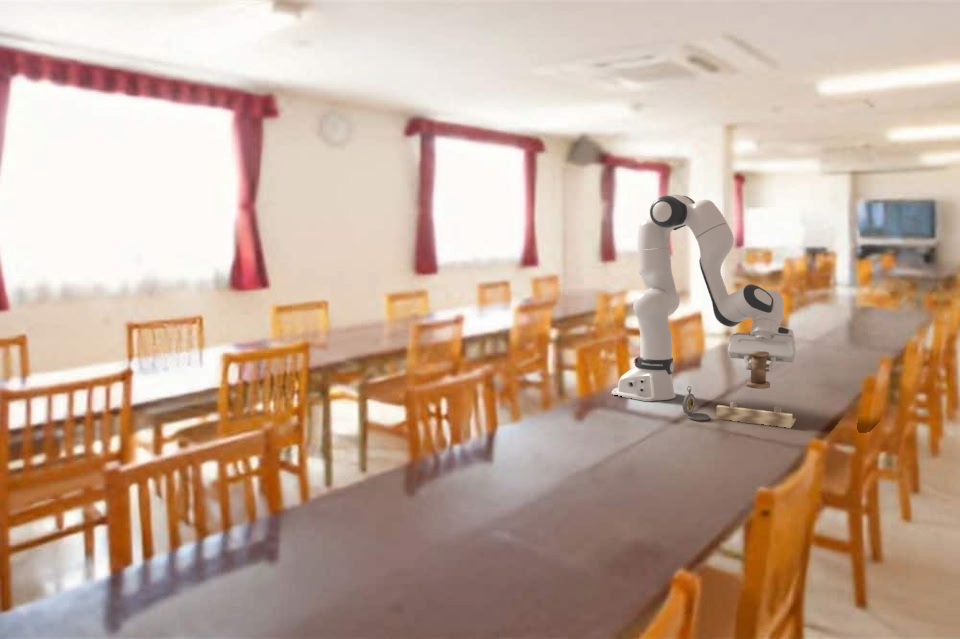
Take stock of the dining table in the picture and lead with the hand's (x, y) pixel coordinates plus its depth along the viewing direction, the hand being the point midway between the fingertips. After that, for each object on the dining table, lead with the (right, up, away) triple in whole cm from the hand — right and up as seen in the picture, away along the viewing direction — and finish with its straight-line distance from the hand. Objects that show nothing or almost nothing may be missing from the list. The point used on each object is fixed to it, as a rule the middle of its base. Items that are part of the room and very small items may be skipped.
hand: (758, 369), depth 221 cm
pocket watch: (-18, -16, +5) cm, 25 cm away
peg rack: (0, -16, +2) cm, 16 cm away
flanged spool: (0, -5, +1) cm, 5 cm away
